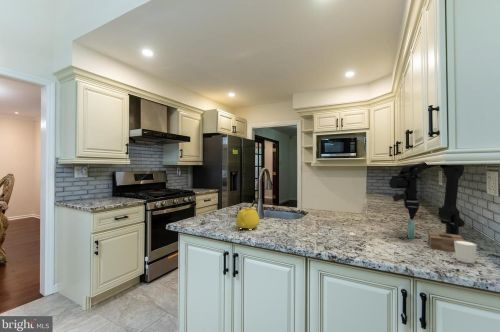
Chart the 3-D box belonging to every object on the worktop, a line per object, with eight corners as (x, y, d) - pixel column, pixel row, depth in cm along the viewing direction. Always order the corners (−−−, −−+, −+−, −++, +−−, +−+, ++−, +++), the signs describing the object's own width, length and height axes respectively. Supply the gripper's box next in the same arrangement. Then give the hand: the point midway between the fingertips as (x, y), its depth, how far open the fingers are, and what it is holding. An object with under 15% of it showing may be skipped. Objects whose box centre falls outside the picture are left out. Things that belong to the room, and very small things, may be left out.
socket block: (428, 241, 120) (428, 231, 120) (459, 245, 114) (459, 235, 114) (431, 248, 110) (431, 237, 110) (465, 253, 103) (465, 241, 103)
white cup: (469, 264, 92) (468, 246, 92) (449, 258, 98) (449, 241, 98) (481, 262, 94) (481, 244, 94) (461, 256, 100) (461, 239, 100)
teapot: (231, 230, 143) (231, 209, 143) (244, 223, 161) (244, 204, 161) (253, 233, 138) (253, 210, 138) (264, 225, 156) (264, 205, 156)
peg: (407, 236, 128) (407, 220, 128) (414, 237, 127) (414, 220, 127) (407, 238, 126) (407, 221, 126) (414, 239, 124) (414, 221, 124)
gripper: (393, 186, 138) (393, 213, 138) (392, 189, 123) (393, 219, 122) (416, 187, 133) (417, 215, 132) (419, 190, 117) (419, 222, 117)
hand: (411, 218), depth 126 cm, fingers open, 9 cm apart
